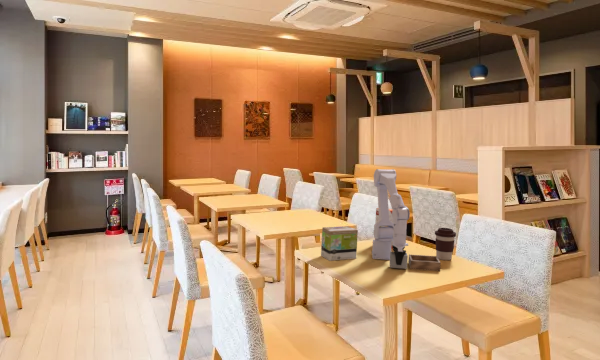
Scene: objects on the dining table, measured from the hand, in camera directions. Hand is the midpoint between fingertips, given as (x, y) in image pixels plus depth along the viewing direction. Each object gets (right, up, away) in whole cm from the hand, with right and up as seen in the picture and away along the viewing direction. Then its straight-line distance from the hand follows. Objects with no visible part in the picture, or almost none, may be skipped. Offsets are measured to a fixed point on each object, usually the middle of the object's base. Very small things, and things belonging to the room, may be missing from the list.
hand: (398, 262), depth 190 cm
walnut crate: (+13, -2, +3) cm, 13 cm away
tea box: (-26, -1, +15) cm, 30 cm away
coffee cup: (+27, -2, +18) cm, 33 cm away
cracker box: (+3, +1, +39) cm, 39 cm away
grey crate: (0, -2, 0) cm, 2 cm away
